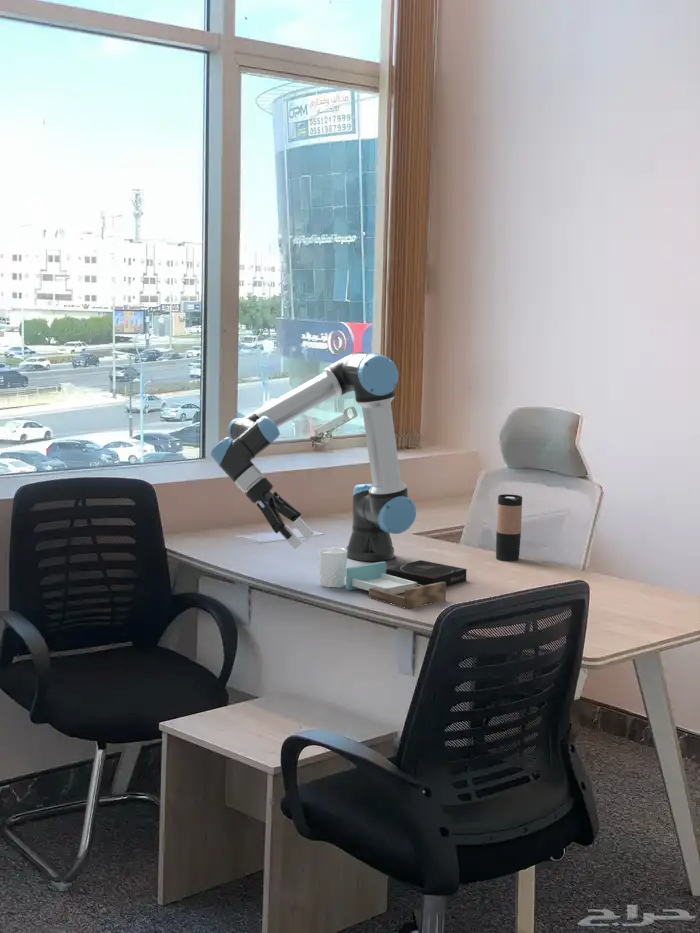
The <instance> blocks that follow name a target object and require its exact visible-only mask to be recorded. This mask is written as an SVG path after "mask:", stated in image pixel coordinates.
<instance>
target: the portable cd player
mask: <svg viewBox="0 0 700 933" xmlns="http://www.w3.org/2000/svg"><path fill="white" fill-rule="evenodd" d="M386 574H388V575H391V576H395V577H399V578H402V579H406V580H410V581H413V582H417V584H420V585H429V584H434V583H439V582H446V588H449V587H451V586H454V585H458V584H461V583H464V582H467V568H463V567H457V566H453V565H447V564H442V563H436V562H432V561H427V560H421V559H419V560H416V561H412V562H407V563H405V564H401V565H397V566H393V567H389V568H386Z"/></svg>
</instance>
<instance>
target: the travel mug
mask: <svg viewBox="0 0 700 933" xmlns="http://www.w3.org/2000/svg"><path fill="white" fill-rule="evenodd" d="M522 508H523V496H522V495H517V494H507V493H506V494H499V495H498V496H497V512H496V514H497V515H496V529H495V531H496V534H495V536H496V537H495V542H496V543H495V559H496V560H498V561H502V562H517V561H519V560H520V548H521V538H522V537H521V534H522V516H523V515H522V514H523V510H522Z"/></svg>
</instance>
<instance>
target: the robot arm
mask: <svg viewBox="0 0 700 933" xmlns="http://www.w3.org/2000/svg"><path fill="white" fill-rule="evenodd" d="M398 381H399V371H398V368H397V366H396V364H395V362H393V360H391V358H389V357H387V356H386V355H383V354H380V353H376V352H375V353H373V352H364V351H363V352H362V351H357V352H353V353H351V354H348V355H346V356H344V357H342V358H340V359H339V360H337V361H335V362H334V363H332V364H330V365H328V366H327V367H325V368H323V370H322V373H321V374H319V375H317V376H315V377H314V378H313V379H310V380H308V381H307V382H305V383H302V384H301V385H299V386H298V387H297V388H296V387H295V389H292V390H290V391H289V392H287V393H285V394H283V395H281V396H280V397H279V398H277V399H275V400H273V401H271V402H269V403H267V404H265V405H264V406H262V407H261V408H258V409H257V410H255V411H253V412H251V413H249V414H247V415H246V416H244V417H237V418H233V419H232V420H231V421H230V422H229V424H228V426H227V435H228V436H227V437H225V438H223V439H222V440H220V441H219V442H218V443H217V444H216V445H215V446H214V447H212V449H211V450H210V456H211V458H213V460H214V461H215V462H216V463H217V464H218V467H219V468H220V469H222V471H223V472H224V473H225V474H226V475H227V476H228V477H229V478H230V479H231V480H232V481H233V483H234V484H235V485H236V488H237V489H240V490H241V492H242V493H245V496H246V497H247V498H248V499H249V500H250V502H251V503H252V504H256V506H257V507H258V509H259V510H260V511H261V513H262V514H263V516H264V517H265V520H267V522H268V524H269V525H270V527H271V528H272V530H273V532H274V533H275V534H278V533H279V534H280V535H282V536H283V538H284V539H285V540H286V541H287V543H288V544H289V545H290V546H291V547H292V549H294V550H296V549H297V548H299V547H300V546H301V545H302V544H303V541H302V540H300V538H299V537H298V536H297V535H296V533H294V531H293V530H292V529H291V528H290V526H288V525H285V523H284V520H283V518H282V517H281V515H282V516H284V517H286V518H287V519H288V520H290V521H292V523H291V524H292V525H293V526H294V527H295V528H296V529H297V530H298V531H299V533H300V534H301V535H302V537H304V538H305V539H306V541H308V540H310V538H312V536H314V535H315V532H314V531H313V530H312V529H311V528H310V527H309V525H308V524H307V523H306V522H305V521H304V520H303V519H302V518H301V516H302V513H301V512H300V511H298V510H297V509H296V508H295V507H294V506H292V505H291V504H290V503H289V502H287V500H285V499H284V498H283V497H282V496H281V495H279V494H278V492H277V491H274V492H273V493H272V492H271V491H272V490H273V488H274V486H273V484H272V483H271V482H270V480H268V478H267V477H264V473H262V471H261V470H260V469H259V468H258V467H257V466H256V465H255V464H254V463H253V462H252V460H254V459H255V458H256V457H257V456H258V455H259V454H260V453H262V452H263V451H265V449H267V448H268V447H269V446H270V445H271V444H273V443H274V442H275V441H276V440H277V439H278V438H279V437H280V434H281V433H280V430H279V427H281V426H283V425H285V424H287V423H288V422H290V421H292V420H294V419H296V418H298V417H299V416H301V415H302V414H303V415H304V413H306V412H308V411H309V410H312V409H313V408H315V407H317V406H318V405H321V404H322V403H324V402H325V401H328V400H330V399H331V398H333V397H342V396H343V395H345V394H347V393H351V392H354V397H355V403H356V404H358V405H359V406H360V407H361V411H362V418H363V425H364V426H363V427H364V430H365V431H364V433H365V438H366V445H367V447H366V448H367V453H368V461H369V466H370V467H369V469H370V474H371V480H372V483H363V484H356V485H355V486H354V487H353V491H352V492H353V493H352V529H351V530H352V531H351V535H350V538H349V541H348V545H347V546H346V548H345V549H346V550H347V559H351V560H356V561H361V562H363V561H364V562H383V561H384V562H385V561H389V560H392V559H394V558H395V548H394V545H393V541H392V537H391V534H394V535H395V534H402V533H404V532H406V531H407V530H408V529H410V528H411V527H412V525H413V524H414V522H415V520H416V516H417V509H416V505H415V503H414V502H413V501H412V499H411V498H409V492H408V486H407V484H406V483H404V482H403V481H402V478H401V471H400V464H399V457H398V450H397V442H396V441H397V439H396V433H395V428H394V426H395V425H394V421H393V420H394V417H393V410H392V405H391V404H392V401H393V400H394V399H395V397H396V394H395V389H396V386H397V384H398Z"/></svg>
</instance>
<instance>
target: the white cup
mask: <svg viewBox="0 0 700 933" xmlns="http://www.w3.org/2000/svg"><path fill="white" fill-rule="evenodd" d="M318 553H319V554H318V555H319V556H318V558H319V559H318V560H319V576H320V578H319V579H320V580H319V582H320V586H321V587H323V588H329V587H338V588H343V587H344V586H345V585H346V581H345V580H346V571H347V566H348V565H347V561H348V557H347V550H346V548H343V547H323V548H320V549H319V550H318ZM342 586H343V587H342Z"/></svg>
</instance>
